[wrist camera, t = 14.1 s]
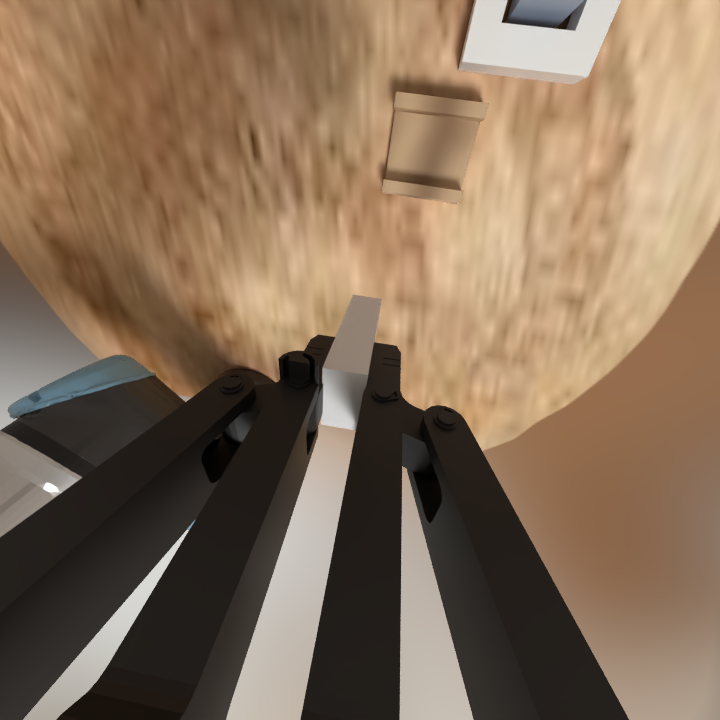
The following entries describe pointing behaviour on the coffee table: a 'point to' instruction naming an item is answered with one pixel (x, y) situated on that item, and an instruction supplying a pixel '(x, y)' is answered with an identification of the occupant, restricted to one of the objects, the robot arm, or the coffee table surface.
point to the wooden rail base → (431, 146)
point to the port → (535, 43)
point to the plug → (541, 12)
